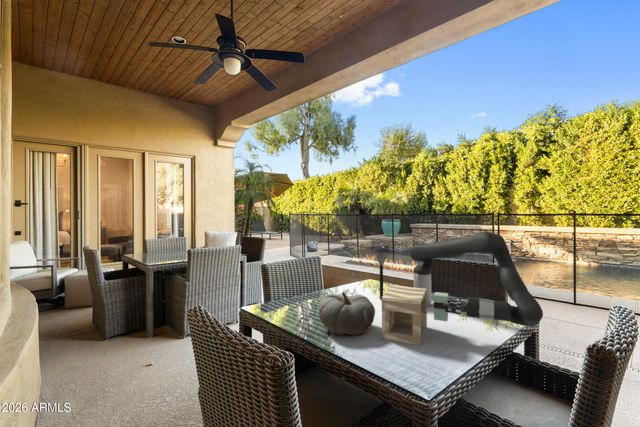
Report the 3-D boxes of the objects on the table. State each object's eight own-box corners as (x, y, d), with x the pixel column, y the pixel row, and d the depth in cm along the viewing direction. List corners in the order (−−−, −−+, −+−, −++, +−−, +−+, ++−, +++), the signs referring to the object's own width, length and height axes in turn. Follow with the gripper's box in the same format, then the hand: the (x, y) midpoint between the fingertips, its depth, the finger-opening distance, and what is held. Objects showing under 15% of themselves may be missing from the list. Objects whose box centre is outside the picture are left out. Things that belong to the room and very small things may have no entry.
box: (392, 322, 149) (392, 285, 148) (426, 326, 142) (426, 288, 142) (382, 338, 130) (381, 297, 130) (420, 345, 124) (420, 301, 124)
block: (435, 315, 134) (435, 291, 133) (447, 317, 132) (448, 293, 131) (433, 319, 129) (434, 295, 129) (447, 321, 127) (447, 296, 127)
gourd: (308, 317, 149) (315, 281, 148) (355, 319, 158) (362, 285, 157) (327, 344, 126) (335, 302, 124) (381, 344, 134) (389, 305, 133)
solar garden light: (369, 301, 181) (369, 249, 181) (372, 295, 193) (371, 246, 192) (391, 303, 178) (391, 249, 177) (393, 297, 189) (392, 246, 189)
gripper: (479, 294, 130) (435, 289, 138) (481, 304, 117) (432, 298, 125) (479, 312, 131) (435, 306, 138) (480, 324, 118) (432, 317, 125)
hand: (434, 302), depth 131 cm, fingers closed on block, 5 cm apart
